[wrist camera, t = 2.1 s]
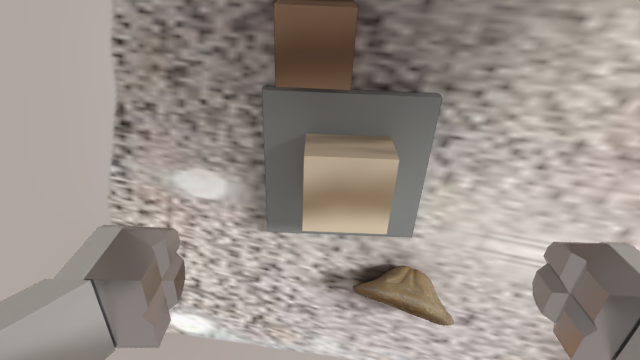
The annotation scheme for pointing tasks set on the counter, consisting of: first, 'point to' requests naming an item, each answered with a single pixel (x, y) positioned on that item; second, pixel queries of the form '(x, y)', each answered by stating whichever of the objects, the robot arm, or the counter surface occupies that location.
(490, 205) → the counter surface
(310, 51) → the walnut cube
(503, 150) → the counter surface
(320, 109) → the build plate
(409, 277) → the fossil
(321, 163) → the maple base
